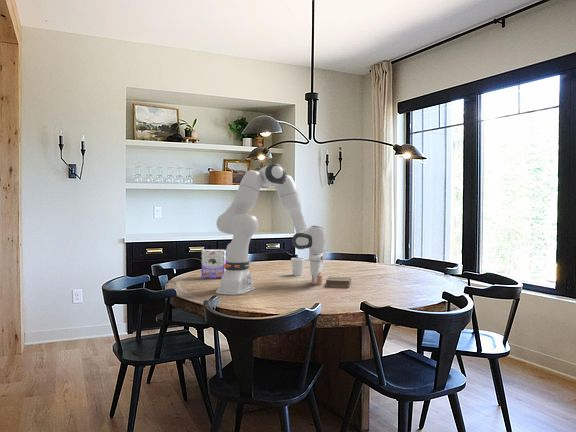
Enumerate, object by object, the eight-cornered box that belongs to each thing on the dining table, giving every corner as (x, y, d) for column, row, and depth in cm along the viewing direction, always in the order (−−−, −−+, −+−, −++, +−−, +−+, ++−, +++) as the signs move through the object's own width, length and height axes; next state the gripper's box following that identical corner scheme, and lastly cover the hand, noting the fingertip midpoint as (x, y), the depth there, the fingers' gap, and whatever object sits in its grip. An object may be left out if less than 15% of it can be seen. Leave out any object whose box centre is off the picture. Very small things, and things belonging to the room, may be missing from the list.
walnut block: (348, 288, 245) (349, 281, 244) (326, 287, 247) (326, 280, 247) (350, 284, 256) (350, 277, 256) (329, 283, 259) (329, 276, 259)
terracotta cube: (321, 284, 253) (321, 275, 253) (311, 284, 254) (311, 275, 254) (322, 283, 258) (322, 274, 258) (313, 282, 259) (313, 273, 259)
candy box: (226, 277, 277) (226, 249, 276) (224, 278, 271) (224, 250, 270) (203, 276, 278) (203, 249, 278) (201, 278, 273) (200, 250, 272)
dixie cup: (288, 274, 287) (288, 258, 286) (301, 273, 290) (301, 257, 289) (293, 276, 279) (293, 259, 278) (306, 275, 282) (306, 259, 281)
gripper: (314, 253, 267) (314, 277, 267) (308, 257, 247) (308, 283, 247) (325, 253, 265) (325, 277, 266) (320, 258, 245) (320, 284, 246)
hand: (317, 280), depth 256 cm, fingers open, 8 cm apart
